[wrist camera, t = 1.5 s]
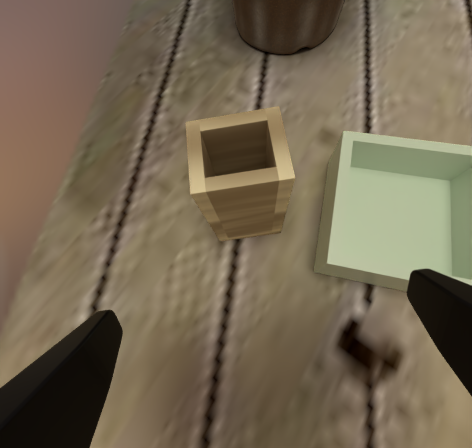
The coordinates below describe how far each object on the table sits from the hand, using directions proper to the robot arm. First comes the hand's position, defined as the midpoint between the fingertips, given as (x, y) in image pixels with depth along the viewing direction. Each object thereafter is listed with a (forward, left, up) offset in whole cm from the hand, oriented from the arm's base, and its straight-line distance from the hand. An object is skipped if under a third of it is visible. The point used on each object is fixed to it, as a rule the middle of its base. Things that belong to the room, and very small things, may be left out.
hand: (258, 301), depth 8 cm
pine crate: (+6, -5, -13) cm, 16 cm away
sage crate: (-4, -12, -13) cm, 18 cm away
